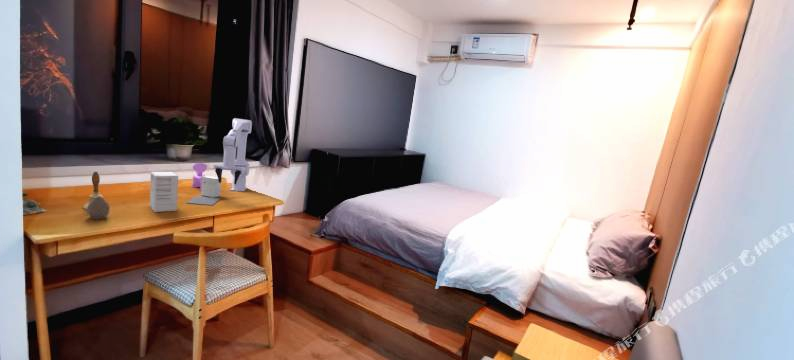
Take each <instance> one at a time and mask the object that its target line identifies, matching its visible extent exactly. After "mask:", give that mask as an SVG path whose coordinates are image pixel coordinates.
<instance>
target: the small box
mask: <svg viewBox="0 0 794 360" xmlns="http://www.w3.org/2000/svg"><path fill="white" fill-rule="evenodd" d="M221 189H222V180H221V183H219V180H218V176H211V175H205V176H204V177H203V179H202V189H201V190H200V191H201V192H200V196H203V197H214V198H219V197H220V196H221Z"/></svg>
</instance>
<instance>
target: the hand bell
mask: <svg viewBox="0 0 794 360" xmlns="http://www.w3.org/2000/svg"><path fill="white" fill-rule="evenodd" d="M100 180H101V179H100V174H99V172H98V171H93V173H92V176H91V183H92V185H93V193H92V194H89V196H88V200H87V203H86V204H84V205H83V207H82V208H83V209H85V210H87V208H88V205H89V204H90V203H91V202H92V201H93V200H94V198H95V197H98V196H100V197H103V198H104V196H103V194H100V192H99V185H100Z"/></svg>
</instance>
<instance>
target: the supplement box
mask: <svg viewBox="0 0 794 360" xmlns="http://www.w3.org/2000/svg"><path fill="white" fill-rule="evenodd" d="M178 190H179V175H178V174H176V173H175V172H174V171H151V172H150V192H149V208H150V209H151V210H152V211H153V212H154V213H157V212H172V211H173V212H175V211H177V210H178Z"/></svg>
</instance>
